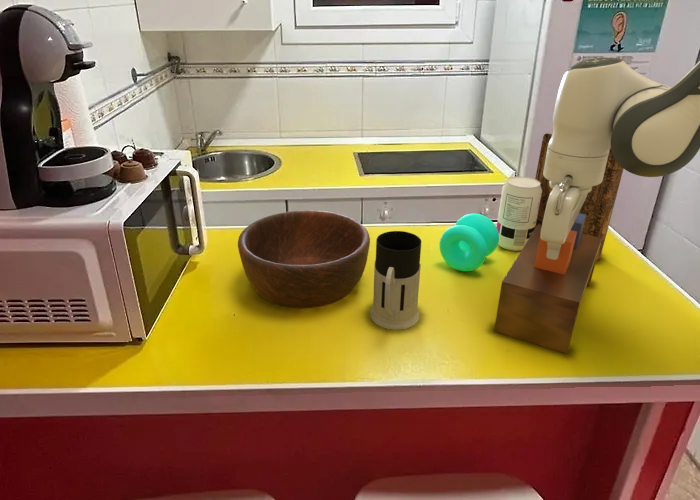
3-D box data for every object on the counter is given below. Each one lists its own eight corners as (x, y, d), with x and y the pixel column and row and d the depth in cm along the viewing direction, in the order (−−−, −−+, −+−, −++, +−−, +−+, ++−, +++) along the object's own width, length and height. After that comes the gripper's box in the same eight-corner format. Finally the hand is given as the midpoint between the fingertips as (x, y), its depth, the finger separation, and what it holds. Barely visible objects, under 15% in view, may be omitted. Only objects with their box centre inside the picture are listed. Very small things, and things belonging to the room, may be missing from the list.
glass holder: (422, 305, 96) (428, 232, 89) (411, 352, 84) (417, 272, 77) (375, 298, 98) (378, 226, 91) (358, 344, 86) (359, 265, 79)
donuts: (435, 265, 109) (439, 222, 105) (454, 247, 117) (459, 206, 112) (480, 279, 104) (486, 235, 100) (497, 259, 112) (504, 217, 107)
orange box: (569, 262, 90) (577, 231, 88) (564, 274, 87) (572, 242, 84) (540, 255, 93) (546, 225, 90) (534, 267, 89) (540, 235, 86)
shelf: (590, 282, 104) (602, 237, 99) (566, 354, 84) (579, 302, 79) (529, 267, 109) (537, 224, 104) (493, 331, 89) (501, 281, 85)
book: (604, 256, 113) (633, 144, 102) (591, 264, 110) (621, 150, 99) (537, 231, 124) (556, 128, 113) (524, 238, 121) (543, 132, 110)
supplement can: (487, 239, 121) (496, 178, 114) (516, 233, 124) (526, 173, 117) (509, 254, 114) (519, 190, 107) (539, 248, 117) (551, 185, 110)
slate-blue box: (580, 238, 99) (586, 214, 96) (576, 248, 95) (582, 224, 93) (553, 232, 101) (558, 208, 99) (548, 242, 97) (553, 218, 95)
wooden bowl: (253, 329, 89) (248, 277, 84) (234, 262, 110) (229, 218, 105) (388, 303, 96) (390, 255, 92) (345, 245, 117) (345, 203, 113)
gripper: (585, 191, 72) (566, 277, 78) (604, 153, 88) (587, 228, 94) (538, 183, 75) (524, 267, 81) (564, 148, 91) (551, 221, 97)
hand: (558, 245), depth 88 cm, fingers open, 8 cm apart
